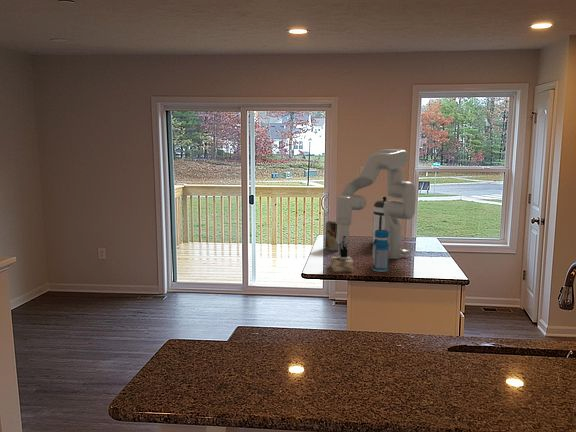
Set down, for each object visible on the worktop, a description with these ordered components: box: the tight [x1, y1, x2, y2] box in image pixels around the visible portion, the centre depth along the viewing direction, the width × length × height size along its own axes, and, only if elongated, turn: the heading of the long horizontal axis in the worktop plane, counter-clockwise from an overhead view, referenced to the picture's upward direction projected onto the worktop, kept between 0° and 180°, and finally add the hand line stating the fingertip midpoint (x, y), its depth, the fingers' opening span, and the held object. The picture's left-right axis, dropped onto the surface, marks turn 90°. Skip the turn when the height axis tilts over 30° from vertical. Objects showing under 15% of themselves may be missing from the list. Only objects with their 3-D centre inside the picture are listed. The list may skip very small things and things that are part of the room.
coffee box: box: [324, 220, 339, 252], centre depth 296 cm, size 9×6×16 cm
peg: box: [337, 245, 348, 260], centre depth 254 cm, size 4×4×12 cm
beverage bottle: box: [371, 230, 390, 273], centre depth 253 cm, size 8×8×20 cm
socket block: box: [330, 256, 355, 272], centre depth 255 cm, size 10×10×5 cm
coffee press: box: [370, 196, 388, 245], centre depth 310 cm, size 17×16×30 cm
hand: (342, 254), depth 254 cm, fingers open, 9 cm apart
